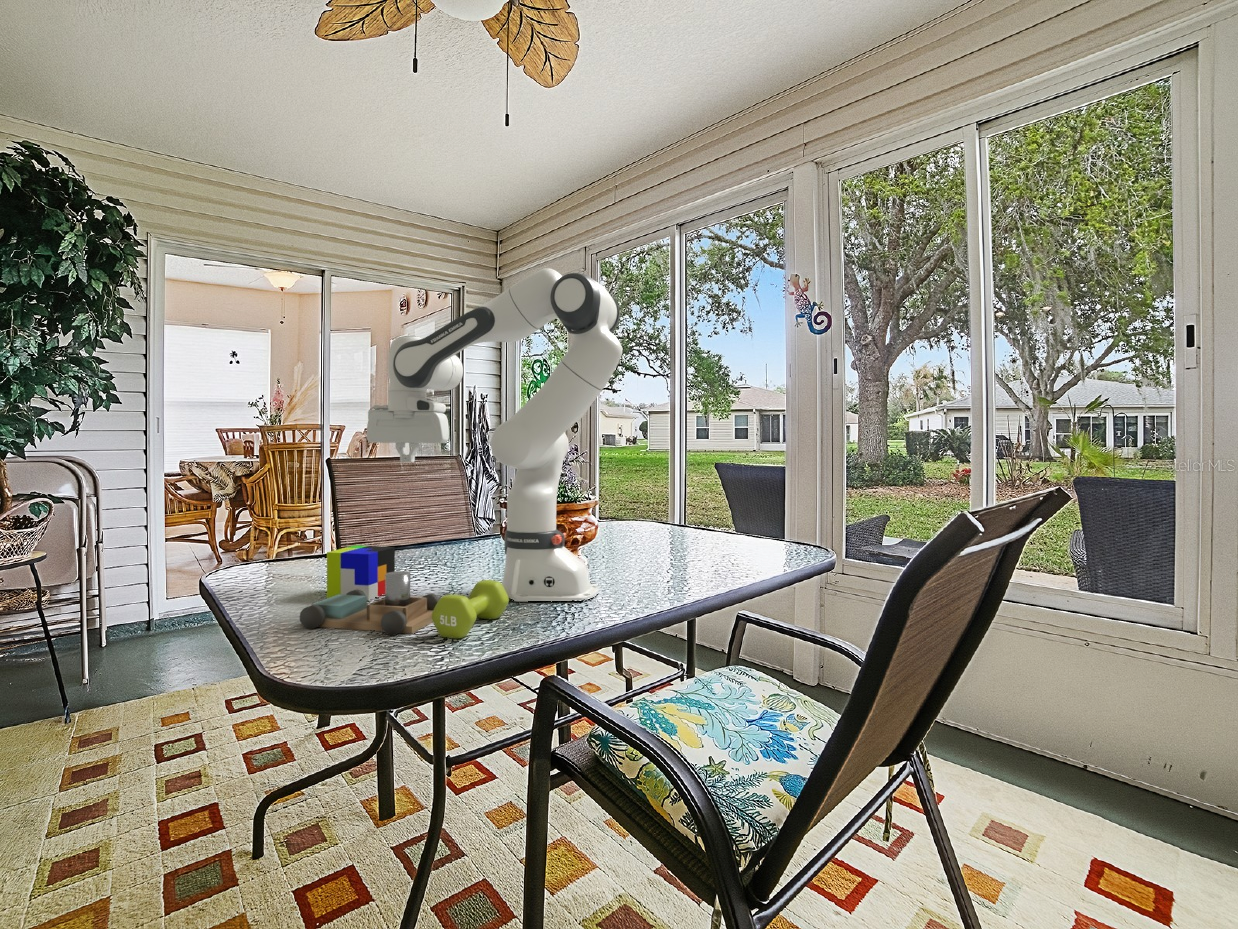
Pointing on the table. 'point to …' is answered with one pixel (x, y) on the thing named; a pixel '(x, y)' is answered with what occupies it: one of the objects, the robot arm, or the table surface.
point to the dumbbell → (469, 608)
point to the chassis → (369, 613)
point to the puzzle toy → (359, 570)
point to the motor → (397, 588)
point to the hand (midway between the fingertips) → (407, 462)
